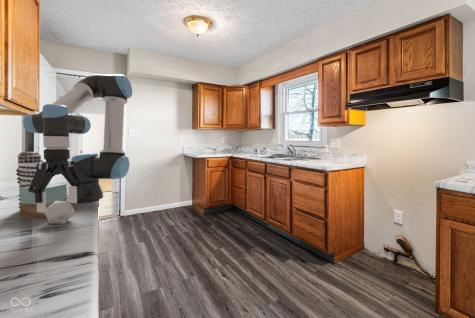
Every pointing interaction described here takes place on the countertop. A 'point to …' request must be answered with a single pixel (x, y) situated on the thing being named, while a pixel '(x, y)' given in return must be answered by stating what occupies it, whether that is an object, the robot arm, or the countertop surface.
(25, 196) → the tower top
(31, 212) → the tower base
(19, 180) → the decorative candle
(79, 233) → the countertop surface
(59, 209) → the die
